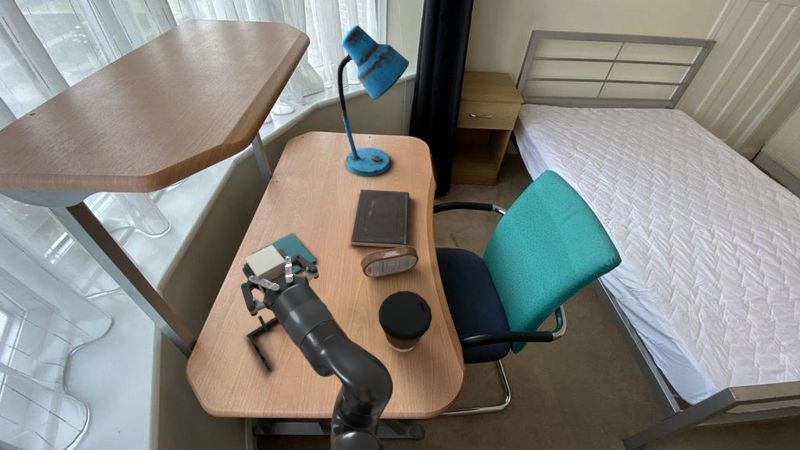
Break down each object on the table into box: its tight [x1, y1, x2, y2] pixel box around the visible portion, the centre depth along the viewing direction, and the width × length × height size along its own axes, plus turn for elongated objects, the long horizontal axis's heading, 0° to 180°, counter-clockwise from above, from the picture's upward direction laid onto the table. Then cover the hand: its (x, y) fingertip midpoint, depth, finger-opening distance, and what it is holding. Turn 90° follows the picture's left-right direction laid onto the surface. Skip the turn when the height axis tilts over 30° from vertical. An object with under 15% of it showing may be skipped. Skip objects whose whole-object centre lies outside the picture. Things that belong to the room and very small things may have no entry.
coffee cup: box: [378, 290, 433, 353], centre depth 69 cm, size 11×11×12 cm
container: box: [244, 244, 286, 296], centre depth 64 cm, size 6×6×9 cm
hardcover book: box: [350, 188, 410, 249], centre depth 99 cm, size 16×23×2 cm
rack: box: [246, 315, 279, 372], centre depth 70 cm, size 12×10×6 cm
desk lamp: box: [336, 24, 410, 177], centre depth 105 cm, size 16×22×45 cm
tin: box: [360, 245, 419, 279], centre depth 83 cm, size 15×3×8 cm, turn 106°
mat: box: [251, 233, 317, 274], centre depth 88 cm, size 12×13×1 cm
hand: (261, 258), depth 64 cm, fingers closed on container, 5 cm apart
